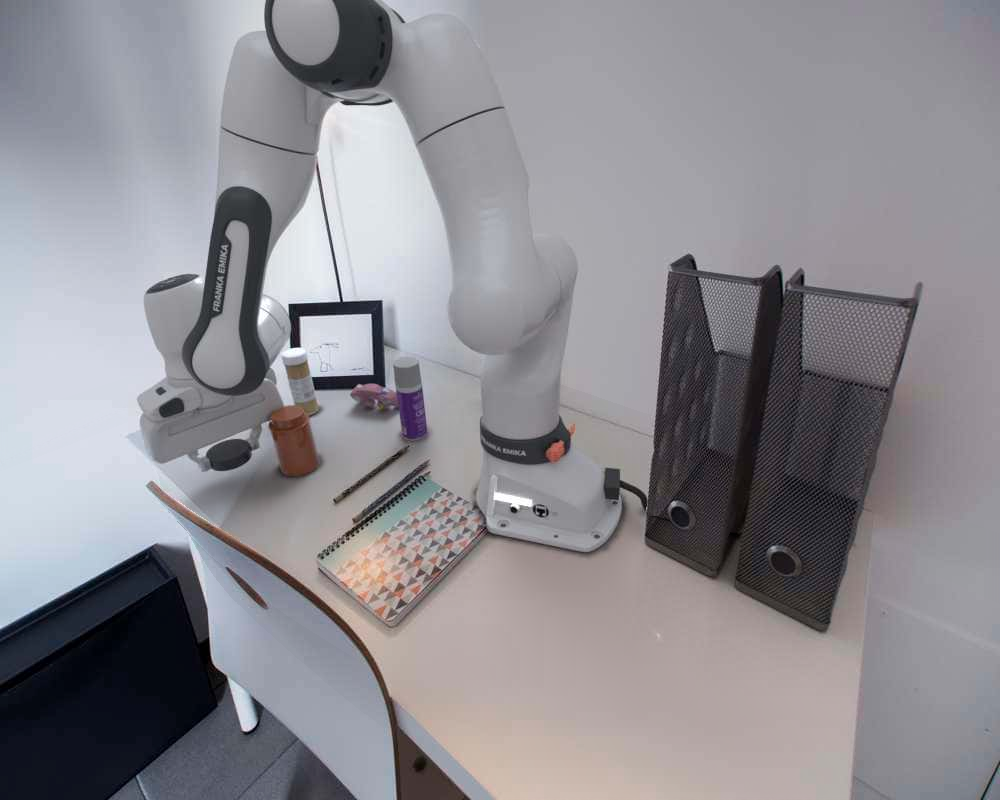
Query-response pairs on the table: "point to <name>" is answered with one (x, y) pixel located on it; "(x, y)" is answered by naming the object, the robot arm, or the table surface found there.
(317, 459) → the jar
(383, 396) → the pink toy animal
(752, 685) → the table surface
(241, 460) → the lid
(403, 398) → the container
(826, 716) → the table surface
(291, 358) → the sprinkles bottle
